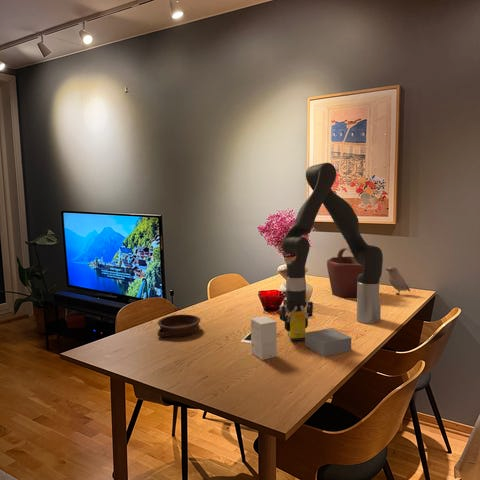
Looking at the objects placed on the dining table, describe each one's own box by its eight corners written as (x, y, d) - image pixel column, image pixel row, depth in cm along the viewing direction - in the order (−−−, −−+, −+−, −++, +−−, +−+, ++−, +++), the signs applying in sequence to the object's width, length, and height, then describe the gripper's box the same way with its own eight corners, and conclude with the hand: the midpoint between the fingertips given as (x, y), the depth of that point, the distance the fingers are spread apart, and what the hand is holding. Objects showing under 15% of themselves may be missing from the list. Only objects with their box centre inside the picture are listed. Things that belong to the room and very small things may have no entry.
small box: (277, 357, 162) (276, 321, 160) (261, 360, 159) (261, 324, 157) (266, 349, 169) (265, 315, 167) (250, 352, 167) (250, 318, 165)
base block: (331, 340, 177) (331, 327, 176) (351, 350, 166) (351, 337, 166) (305, 345, 172) (305, 332, 172) (323, 356, 162) (323, 343, 161)
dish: (212, 328, 195) (212, 316, 194) (177, 344, 177) (176, 331, 176) (181, 321, 205) (181, 310, 204) (145, 335, 187) (144, 323, 186)
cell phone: (240, 343, 177) (240, 341, 177) (254, 329, 192) (254, 328, 192) (259, 345, 174) (259, 343, 174) (272, 332, 189) (272, 330, 189)
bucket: (375, 300, 231) (376, 251, 227) (331, 301, 231) (331, 252, 228) (362, 288, 255) (363, 244, 252) (323, 289, 255) (323, 245, 252)
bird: (383, 293, 245) (384, 265, 243) (409, 293, 243) (410, 265, 241) (385, 295, 240) (385, 267, 238) (411, 296, 238) (412, 267, 236)
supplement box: (287, 335, 181) (287, 308, 180) (302, 334, 182) (302, 307, 180) (290, 340, 175) (290, 313, 174) (305, 339, 176) (305, 312, 174)
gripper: (306, 283, 182) (306, 323, 184) (274, 288, 176) (275, 329, 179) (317, 287, 175) (317, 329, 178) (284, 292, 169) (285, 335, 172)
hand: (296, 329), depth 178 cm, fingers closed on supplement box, 7 cm apart
